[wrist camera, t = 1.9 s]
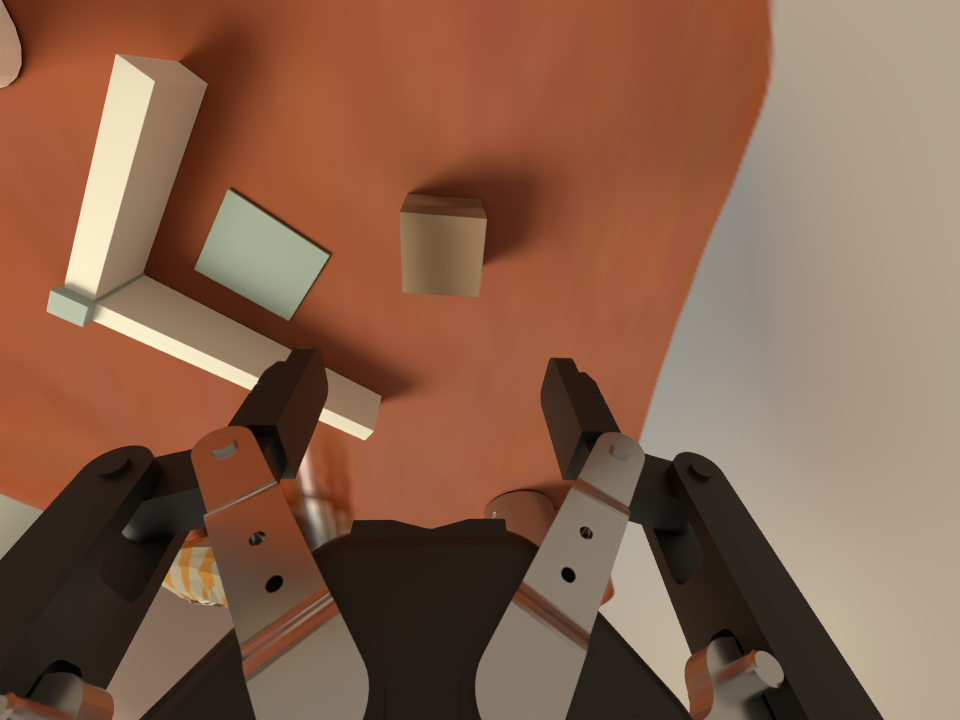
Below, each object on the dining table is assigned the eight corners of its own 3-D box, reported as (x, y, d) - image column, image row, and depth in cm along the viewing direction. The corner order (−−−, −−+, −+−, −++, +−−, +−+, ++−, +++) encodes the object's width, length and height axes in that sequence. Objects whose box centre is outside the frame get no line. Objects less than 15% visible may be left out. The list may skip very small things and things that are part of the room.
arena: (477, 288, 29) (482, 321, 24) (372, 406, 35) (362, 447, 31) (174, 59, 19) (99, 48, 15) (110, 277, 26) (46, 311, 22)
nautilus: (346, 567, 56) (262, 580, 58) (255, 503, 42) (150, 523, 45) (332, 629, 50) (240, 640, 52) (221, 578, 36) (102, 596, 39)
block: (481, 199, 25) (486, 219, 21) (474, 267, 28) (478, 297, 24) (408, 192, 24) (399, 211, 20) (409, 263, 27) (402, 292, 23)
